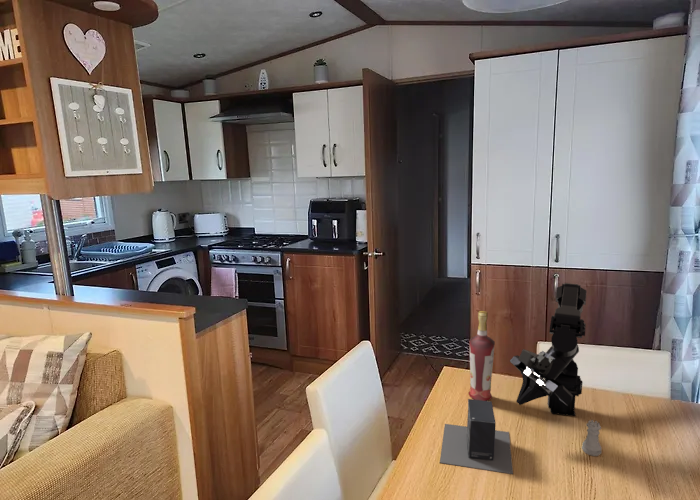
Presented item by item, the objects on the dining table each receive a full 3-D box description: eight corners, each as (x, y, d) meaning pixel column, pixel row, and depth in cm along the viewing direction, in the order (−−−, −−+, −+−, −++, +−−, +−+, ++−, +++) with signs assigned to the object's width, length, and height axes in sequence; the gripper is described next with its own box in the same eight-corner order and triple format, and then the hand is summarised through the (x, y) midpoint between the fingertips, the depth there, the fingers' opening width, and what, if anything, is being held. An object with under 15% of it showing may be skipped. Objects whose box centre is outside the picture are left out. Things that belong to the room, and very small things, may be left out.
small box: (495, 461, 112) (497, 422, 109) (468, 458, 113) (469, 420, 111) (491, 436, 122) (492, 400, 120) (466, 433, 123) (467, 398, 121)
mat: (508, 432, 123) (508, 432, 123) (513, 474, 107) (513, 473, 107) (444, 424, 128) (444, 423, 128) (439, 463, 112) (439, 462, 112)
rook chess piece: (599, 447, 116) (602, 419, 114) (603, 458, 112) (605, 429, 110) (580, 444, 118) (582, 416, 116) (582, 455, 113) (585, 426, 112)
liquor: (490, 407, 136) (493, 317, 131) (465, 402, 139) (468, 314, 134) (494, 395, 143) (497, 310, 137) (470, 390, 146) (472, 307, 140)
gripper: (517, 327, 124) (479, 370, 124) (565, 354, 107) (522, 405, 106) (540, 350, 128) (504, 392, 127) (591, 380, 110) (549, 429, 110)
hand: (518, 403), depth 118 cm, fingers closed
